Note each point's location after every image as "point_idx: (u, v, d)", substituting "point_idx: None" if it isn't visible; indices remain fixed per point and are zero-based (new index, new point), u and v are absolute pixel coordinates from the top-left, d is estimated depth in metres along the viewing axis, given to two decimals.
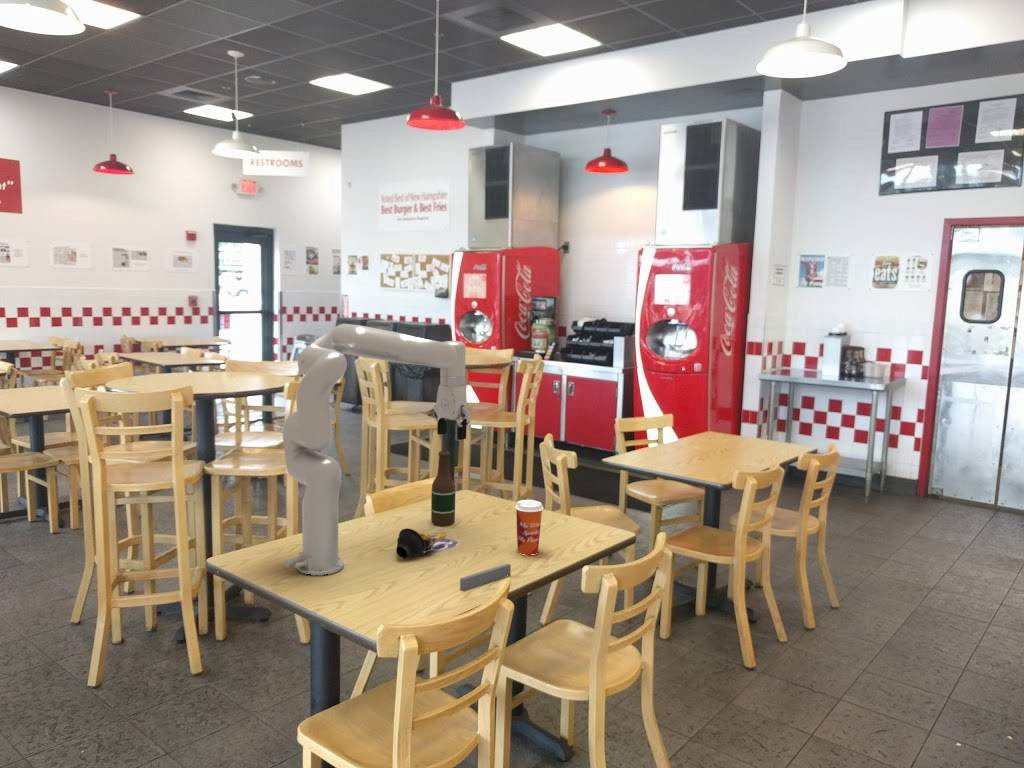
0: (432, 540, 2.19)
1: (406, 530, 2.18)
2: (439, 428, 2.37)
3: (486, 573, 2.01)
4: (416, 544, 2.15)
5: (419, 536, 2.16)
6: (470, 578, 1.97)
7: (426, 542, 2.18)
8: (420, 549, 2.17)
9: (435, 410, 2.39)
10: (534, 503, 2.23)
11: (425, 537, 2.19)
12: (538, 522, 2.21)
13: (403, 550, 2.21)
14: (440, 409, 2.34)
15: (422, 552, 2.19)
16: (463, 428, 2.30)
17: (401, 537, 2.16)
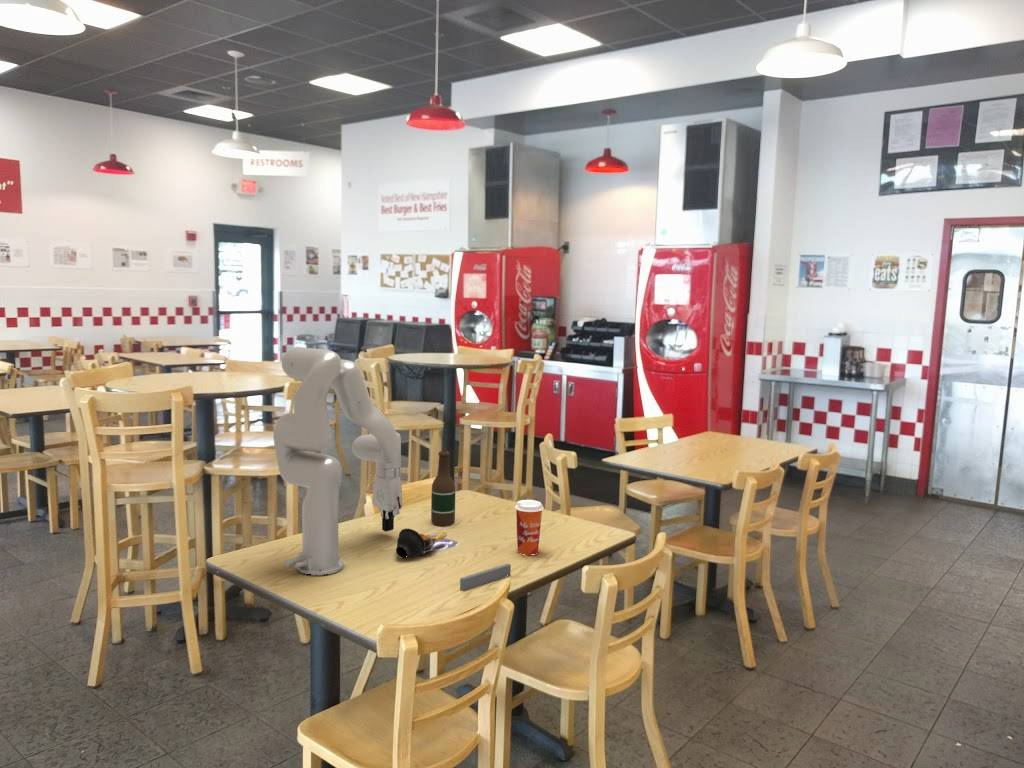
0: (432, 540, 2.19)
1: (406, 530, 2.17)
2: None
3: (486, 573, 2.01)
4: (416, 544, 2.15)
5: (419, 536, 2.16)
6: (470, 578, 1.97)
7: (426, 542, 2.18)
8: (420, 549, 2.17)
9: (379, 507, 2.36)
10: (534, 503, 2.23)
11: (425, 537, 2.19)
12: (538, 522, 2.21)
13: (403, 550, 2.21)
14: (376, 499, 2.33)
15: (422, 552, 2.19)
16: (390, 520, 2.33)
17: (401, 537, 2.16)
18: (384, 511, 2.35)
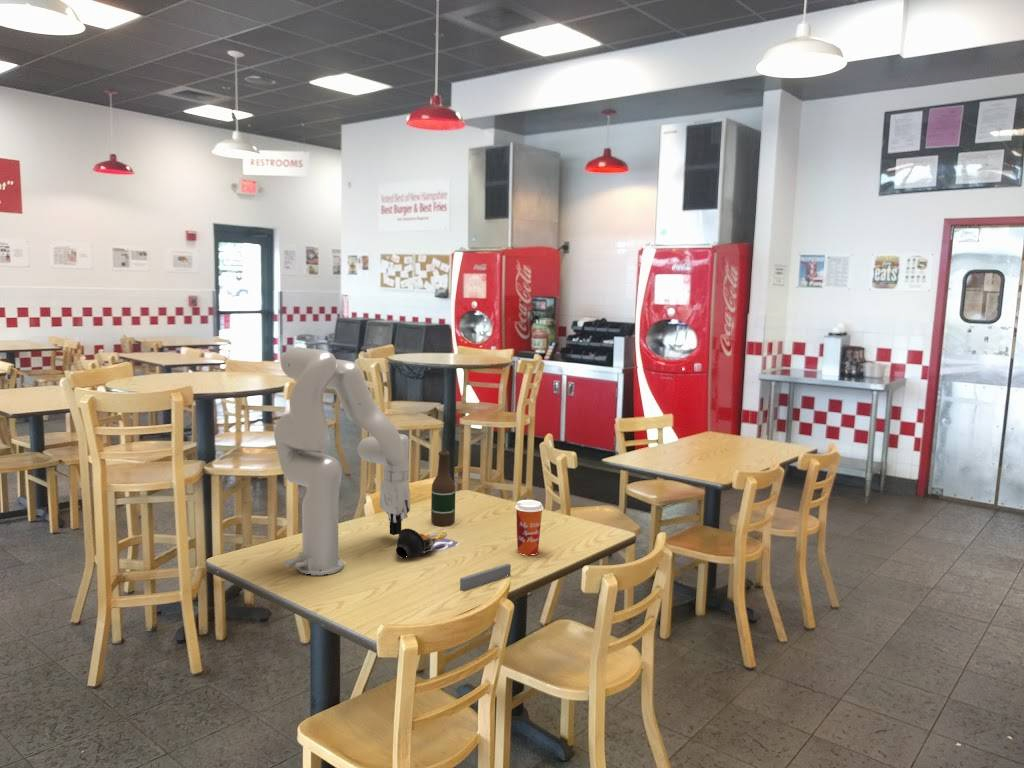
0: (432, 540, 2.19)
1: (406, 530, 2.17)
2: (391, 528, 2.31)
3: (486, 573, 2.01)
4: (416, 544, 2.15)
5: (419, 536, 2.16)
6: (470, 578, 1.97)
7: (426, 542, 2.18)
8: (420, 549, 2.17)
9: None
10: (534, 503, 2.23)
11: (425, 537, 2.19)
12: (538, 522, 2.21)
13: (403, 550, 2.21)
14: (383, 502, 2.30)
15: (422, 552, 2.19)
16: (397, 523, 2.30)
17: (401, 537, 2.16)
18: (392, 515, 2.32)
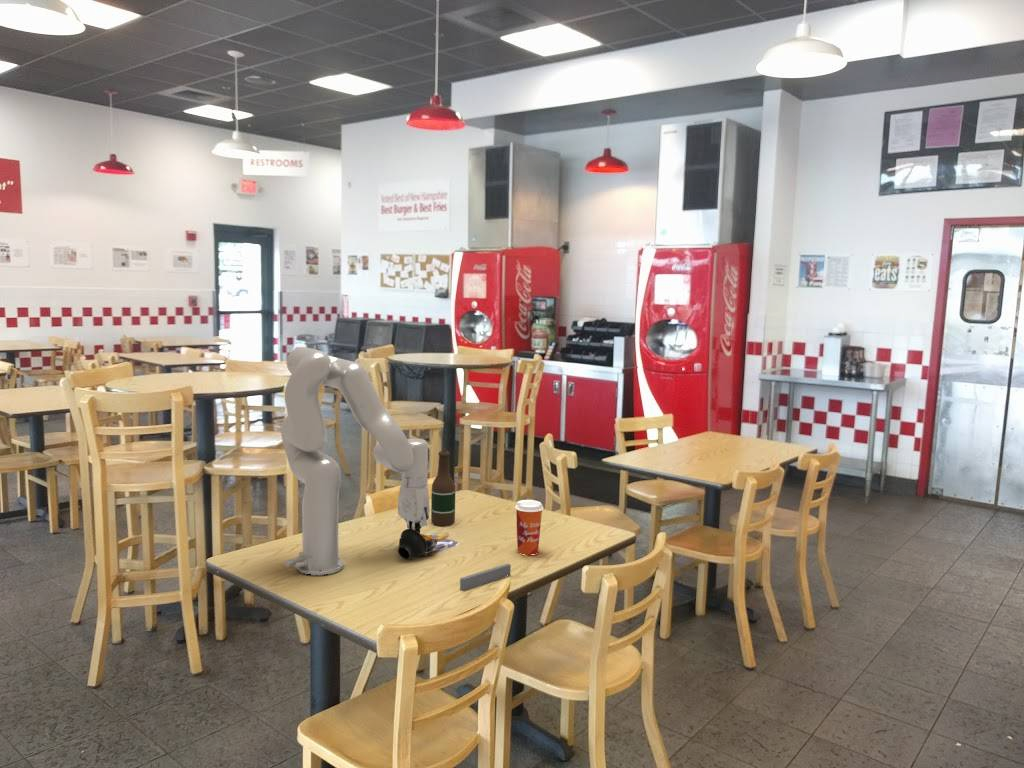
0: (434, 541, 2.19)
1: (408, 531, 2.17)
2: None
3: (486, 573, 2.01)
4: (418, 545, 2.15)
5: (421, 537, 2.16)
6: (470, 578, 1.97)
7: (428, 542, 2.17)
8: (422, 550, 2.16)
9: None
10: (534, 503, 2.23)
11: (427, 538, 2.19)
12: (538, 522, 2.21)
13: (405, 551, 2.20)
14: (402, 509, 2.23)
15: (424, 553, 2.18)
16: None
17: (403, 538, 2.15)
18: (410, 522, 2.25)
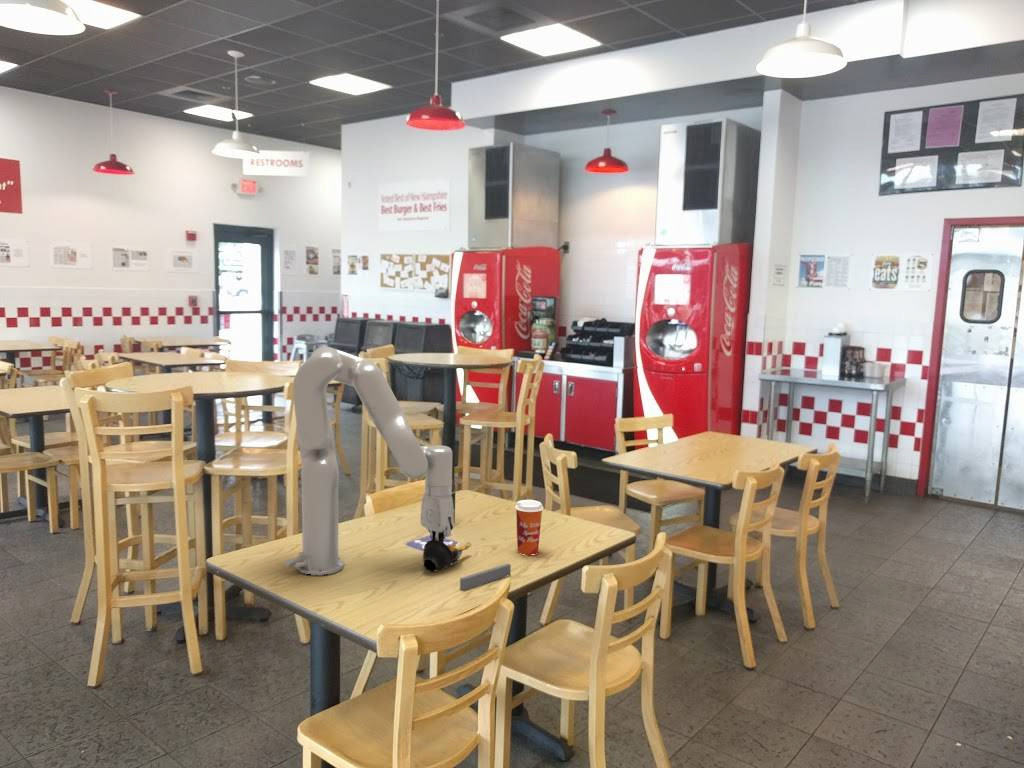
0: (459, 551, 2.11)
1: (433, 542, 2.08)
2: None
3: (486, 573, 2.01)
4: (444, 556, 2.06)
5: (447, 548, 2.07)
6: (470, 578, 1.97)
7: (453, 553, 2.09)
8: (448, 561, 2.08)
9: None
10: (534, 503, 2.23)
11: (452, 548, 2.10)
12: (538, 522, 2.21)
13: (429, 563, 2.11)
14: (425, 519, 2.15)
15: (449, 564, 2.10)
16: None
17: (428, 549, 2.07)
18: (433, 532, 2.17)
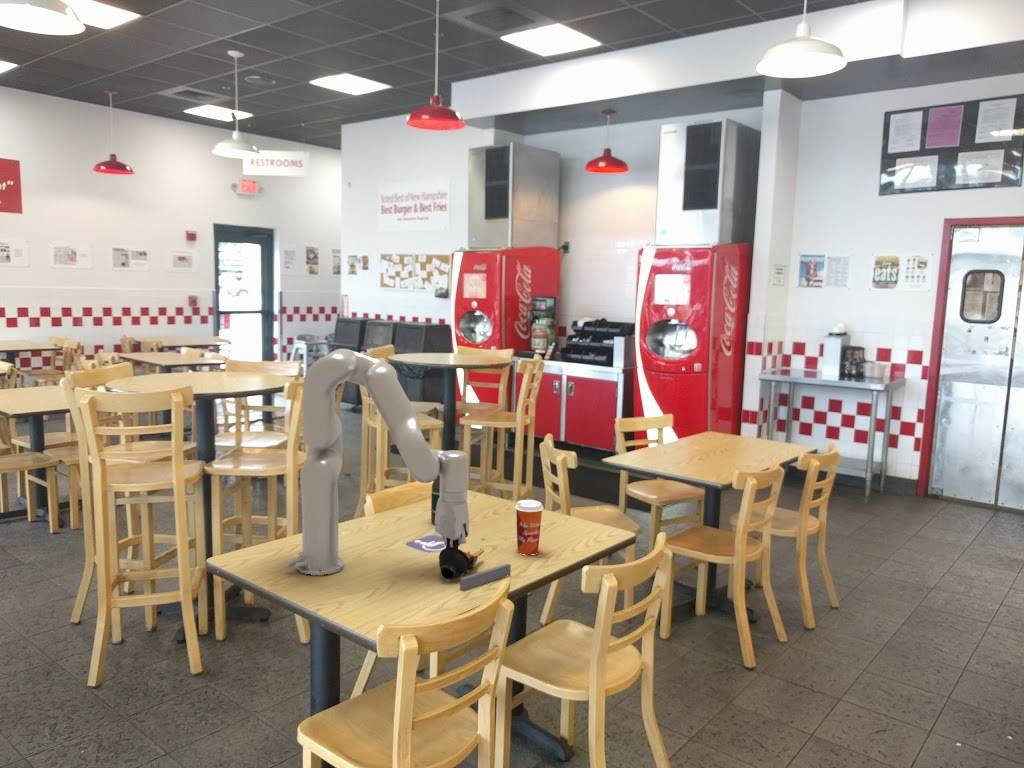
0: (476, 558, 2.06)
1: (449, 549, 2.03)
2: None
3: (486, 573, 2.01)
4: (462, 564, 2.01)
5: (464, 555, 2.03)
6: (470, 578, 1.97)
7: (470, 560, 2.04)
8: (465, 568, 2.03)
9: (442, 534, 2.13)
10: (534, 503, 2.23)
11: (468, 555, 2.06)
12: (538, 522, 2.21)
13: (444, 570, 2.06)
14: (439, 526, 2.10)
15: (466, 571, 2.05)
16: None
17: (445, 557, 2.01)
18: (448, 539, 2.12)
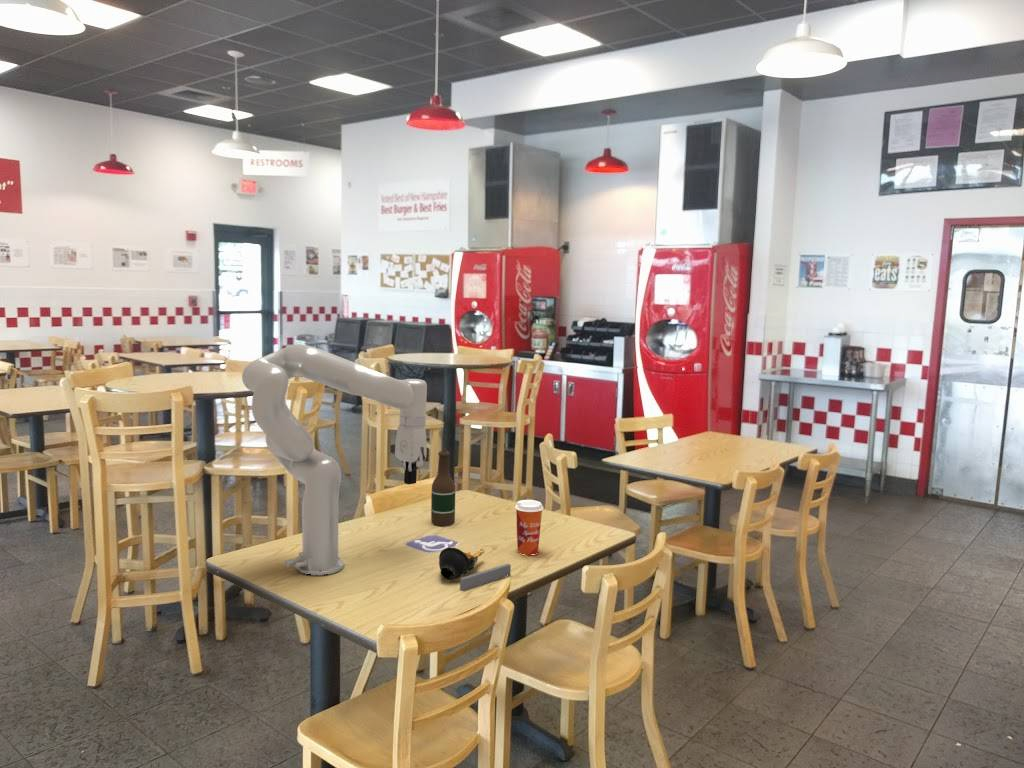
0: (476, 558, 2.06)
1: (449, 549, 2.03)
2: None
3: (486, 573, 2.01)
4: (462, 564, 2.01)
5: (464, 555, 2.02)
6: (470, 578, 1.97)
7: (470, 560, 2.04)
8: (465, 569, 2.03)
9: (401, 459, 2.25)
10: (534, 503, 2.23)
11: (468, 556, 2.06)
12: (538, 522, 2.21)
13: (444, 571, 2.06)
14: (399, 450, 2.22)
15: (466, 572, 2.05)
16: (413, 472, 2.22)
17: (445, 557, 2.01)
18: (407, 463, 2.23)
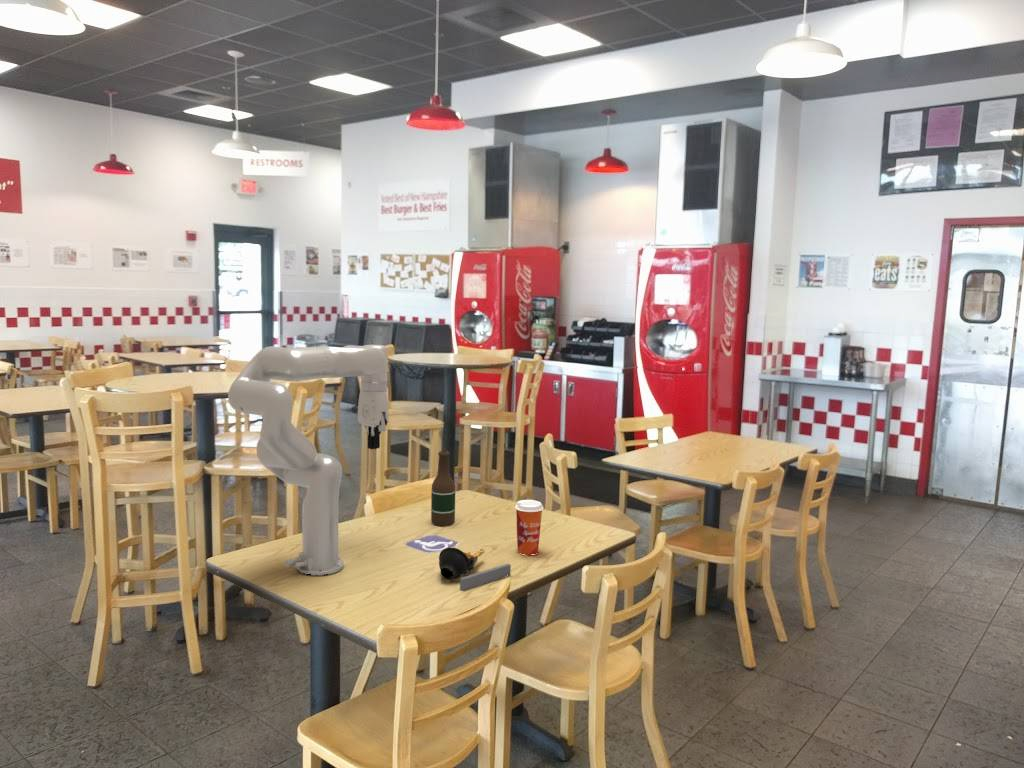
0: (476, 558, 2.06)
1: (449, 549, 2.03)
2: (369, 442, 2.24)
3: (486, 573, 2.01)
4: (462, 564, 2.01)
5: (464, 555, 2.02)
6: (470, 578, 1.97)
7: (470, 560, 2.04)
8: (465, 569, 2.03)
9: (365, 425, 2.27)
10: (534, 503, 2.23)
11: (468, 555, 2.06)
12: (538, 522, 2.21)
13: (444, 571, 2.06)
14: (361, 415, 2.24)
15: (466, 572, 2.05)
16: (376, 437, 2.24)
17: (445, 557, 2.01)
18: (370, 428, 2.25)
